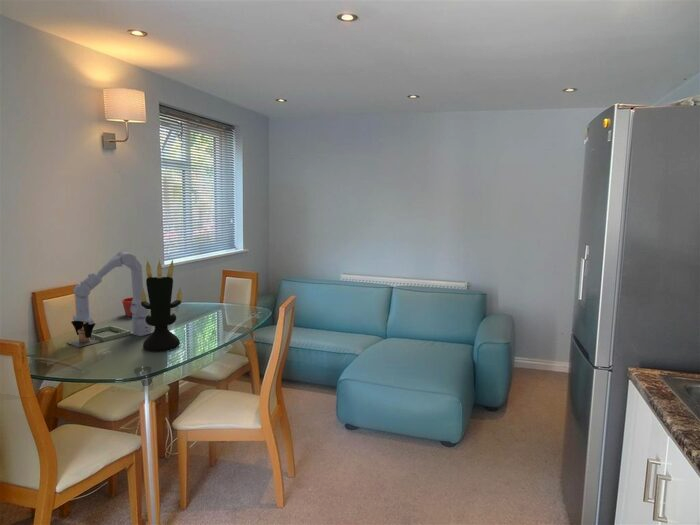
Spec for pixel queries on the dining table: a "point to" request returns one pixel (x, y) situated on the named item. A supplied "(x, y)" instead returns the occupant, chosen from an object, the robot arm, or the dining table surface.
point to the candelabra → (160, 309)
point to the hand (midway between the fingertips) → (83, 336)
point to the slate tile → (77, 344)
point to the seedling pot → (83, 336)
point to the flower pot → (127, 306)
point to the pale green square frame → (123, 333)
